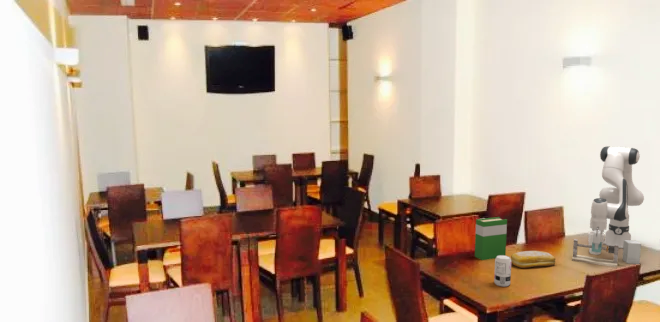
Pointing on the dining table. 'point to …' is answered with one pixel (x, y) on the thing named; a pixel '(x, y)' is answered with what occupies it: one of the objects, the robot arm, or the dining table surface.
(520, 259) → the bread
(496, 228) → the green cereal box
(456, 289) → the dining table surface
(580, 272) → the dining table surface
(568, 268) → the dining table surface
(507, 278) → the supplement can
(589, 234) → the foam cup
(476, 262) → the dining table surface
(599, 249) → the sleeve
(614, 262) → the rail stand
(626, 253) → the supplement box
